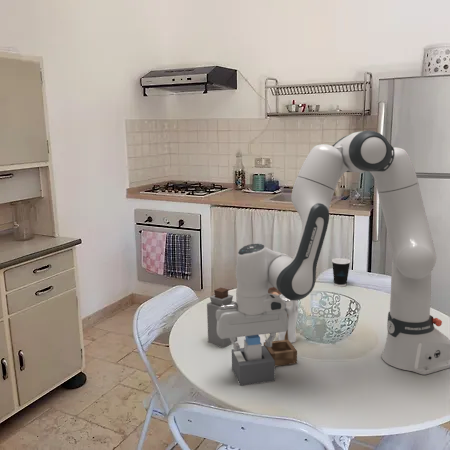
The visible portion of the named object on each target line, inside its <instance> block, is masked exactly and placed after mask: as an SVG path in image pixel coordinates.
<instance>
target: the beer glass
mask: <svg viewBox="0 0 450 450" xmlns="http://www.w3.org/2000/svg"><path fill="white" fill-rule="evenodd" d="M278 296H279V297H280V298H281V299H282V300H283V301H284V303H285V308H284V309H285V311H286V312H287V316H288V329H287V330H286V331H285V332H278V335H277V341H279V340H289V341H290V342H291V344H293V343H295V342H297V334H296V327H297V321H298V315H299V300H289V299H287V298H285V297H284V296H283V295H282V294H279V295H278Z"/></svg>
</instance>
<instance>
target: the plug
mask: <svg viewBox="0 0 450 450" xmlns="http://www.w3.org/2000/svg"><path fill="white" fill-rule="evenodd" d="M244 337H245V339H243V348H244V359H245V361H249V360H257V359H262V346H263V345H262V343H261V336H260V335H252V336H244Z"/></svg>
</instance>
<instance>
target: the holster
mask: <svg viewBox="0 0 450 450" xmlns="http://www.w3.org/2000/svg"><path fill="white" fill-rule="evenodd" d="M265 343H266V342H265V341H263V346H264V345H265ZM265 347H266V345H265ZM266 349H267V350H268V352H269V353H270V355H271V356H272V358H273V359H274V361H275V367H281V366H285V365H293V364H295V365H296V364H298V350H297V349H296V347H295V346H294V345H293V343H291V342H290V341H289V340H273V342H272V347H266Z"/></svg>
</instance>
